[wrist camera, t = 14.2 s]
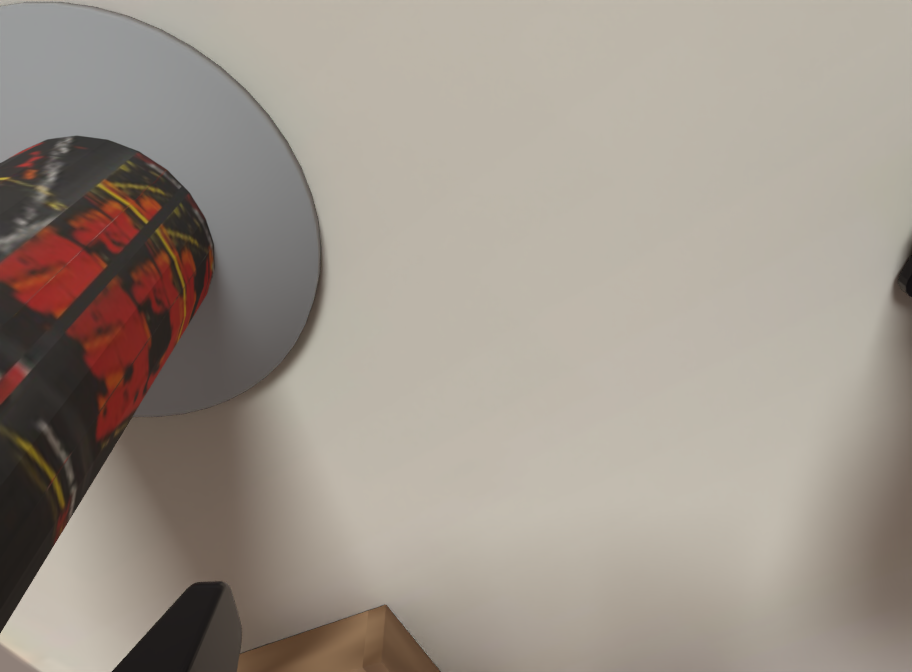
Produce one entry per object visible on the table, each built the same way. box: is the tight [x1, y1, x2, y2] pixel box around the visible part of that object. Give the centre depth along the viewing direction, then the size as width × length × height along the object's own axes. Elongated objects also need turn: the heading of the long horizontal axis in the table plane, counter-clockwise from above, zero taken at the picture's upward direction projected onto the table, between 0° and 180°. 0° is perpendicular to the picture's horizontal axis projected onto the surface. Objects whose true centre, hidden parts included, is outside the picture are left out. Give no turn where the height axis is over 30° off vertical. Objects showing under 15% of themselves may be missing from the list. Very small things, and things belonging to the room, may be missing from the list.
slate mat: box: [0, 2, 321, 417], centre depth 20 cm, size 12×12×1 cm
